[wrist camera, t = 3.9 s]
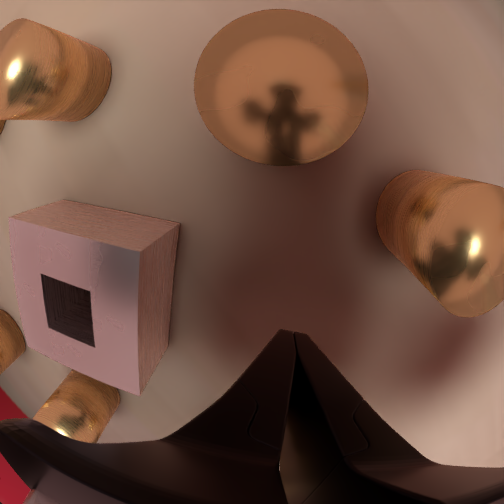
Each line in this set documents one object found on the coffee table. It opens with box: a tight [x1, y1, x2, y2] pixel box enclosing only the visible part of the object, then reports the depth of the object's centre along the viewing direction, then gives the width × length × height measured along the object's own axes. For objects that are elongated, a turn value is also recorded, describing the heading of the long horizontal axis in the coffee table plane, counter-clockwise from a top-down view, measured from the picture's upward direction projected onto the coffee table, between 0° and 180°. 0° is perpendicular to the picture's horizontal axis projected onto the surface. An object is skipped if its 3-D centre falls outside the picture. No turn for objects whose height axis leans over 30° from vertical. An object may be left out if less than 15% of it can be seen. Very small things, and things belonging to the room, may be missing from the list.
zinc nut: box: [9, 200, 180, 396], centre depth 9 cm, size 5×5×3 cm
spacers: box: [0, 9, 504, 443], centre depth 9 cm, size 17×22×4 cm
